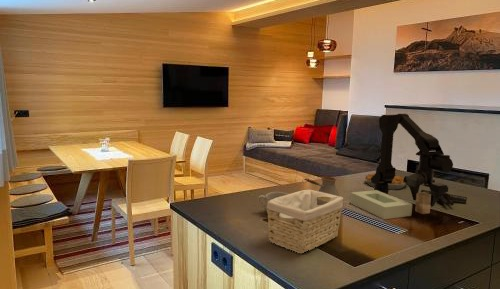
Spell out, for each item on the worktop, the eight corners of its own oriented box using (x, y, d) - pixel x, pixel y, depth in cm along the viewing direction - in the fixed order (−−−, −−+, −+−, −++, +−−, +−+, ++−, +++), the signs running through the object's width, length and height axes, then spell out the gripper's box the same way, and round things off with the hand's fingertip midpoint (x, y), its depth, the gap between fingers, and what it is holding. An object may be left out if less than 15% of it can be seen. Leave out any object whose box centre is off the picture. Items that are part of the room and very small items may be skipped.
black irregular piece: (477, 202, 157) (464, 192, 171) (429, 194, 160) (420, 185, 175) (474, 213, 158) (462, 203, 172) (426, 205, 161) (418, 196, 176)
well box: (350, 203, 166) (351, 192, 165) (375, 200, 171) (376, 190, 170) (384, 219, 146) (385, 207, 145) (411, 215, 151) (412, 203, 150)
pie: (410, 183, 204) (410, 175, 203) (403, 192, 185) (403, 183, 185) (370, 178, 215) (370, 170, 214) (359, 186, 197) (360, 177, 196)
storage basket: (305, 225, 139) (306, 187, 136) (343, 237, 128) (346, 196, 125) (263, 243, 122) (264, 200, 119) (303, 259, 110) (305, 212, 108)
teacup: (293, 211, 153) (294, 193, 152) (287, 220, 143) (288, 200, 142) (262, 207, 158) (262, 189, 156) (254, 215, 148) (254, 196, 146)
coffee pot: (325, 201, 168) (327, 169, 166) (346, 208, 159) (348, 174, 157) (292, 210, 155) (293, 175, 153) (312, 218, 146) (314, 181, 144)
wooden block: (415, 211, 157) (416, 193, 155) (422, 210, 158) (423, 192, 157) (422, 214, 153) (424, 195, 152) (429, 213, 154) (431, 194, 153)
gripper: (394, 164, 158) (392, 198, 161) (429, 173, 141) (426, 212, 143) (414, 162, 162) (411, 196, 165) (451, 171, 145) (447, 209, 147)
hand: (423, 203), depth 155 cm, fingers open, 9 cm apart
